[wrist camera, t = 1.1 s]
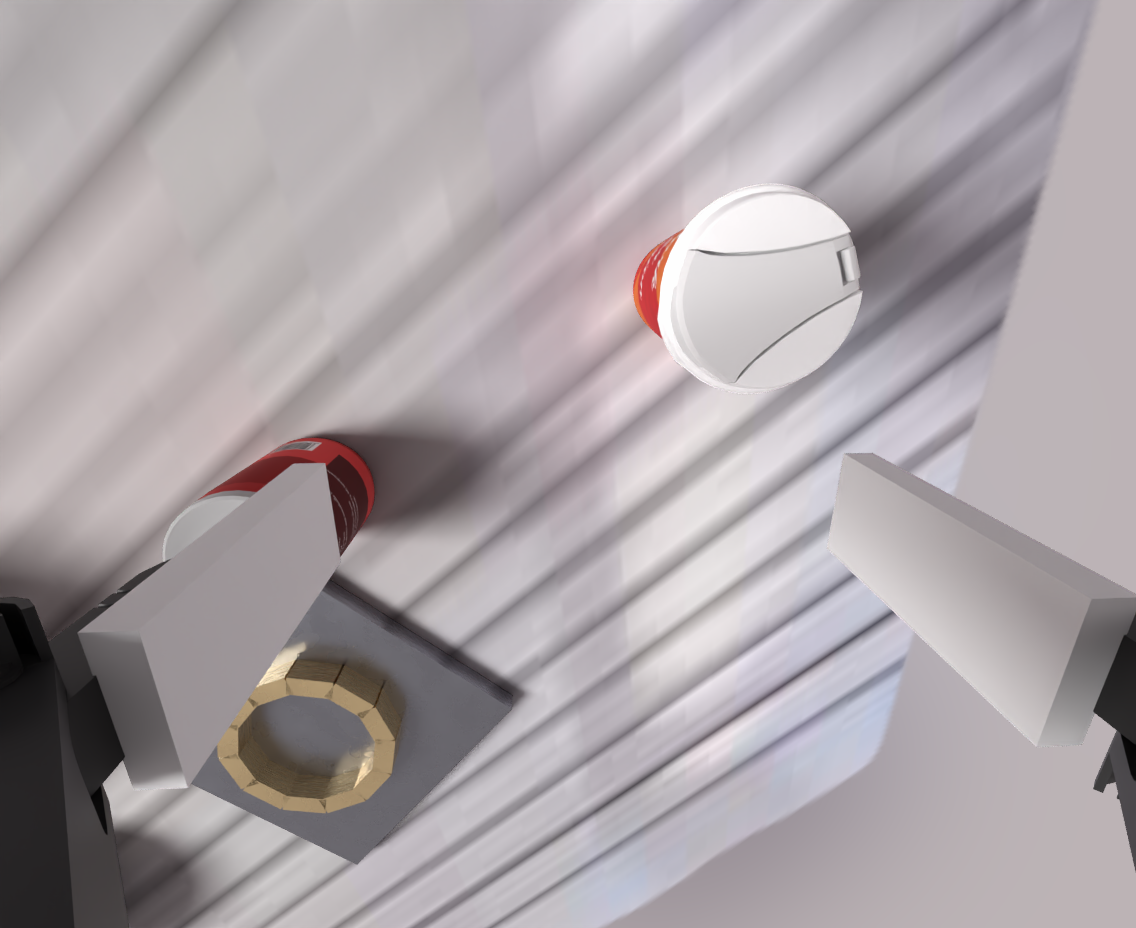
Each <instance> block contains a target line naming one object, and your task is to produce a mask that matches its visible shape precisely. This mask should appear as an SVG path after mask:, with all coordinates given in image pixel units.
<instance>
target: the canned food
mask: <svg viewBox="0 0 1136 928" xmlns="http://www.w3.org/2000/svg"><path fill="white" fill-rule="evenodd" d="M298 463H325V465H326V471H327V477H328V484H329V490H330V496H331V502H332V509H333V515H334V521H335V528H336V534H337V540H338V547H339V553H340V557H341V555H342V554H343V552H344V551H345V550H346V548H347V547H348V545H349V544H350V542H351V541H352V540H353V538H354V537H355V535H356V534H357V532H358V531H359V529H360V528H361V527H362V525H363V524H364V522H365V521H366V519H367V517H368V516H369V514H370V512H371V509H372V506H373V503H374V483H373V478H372V475H371V472H370V470H369V468H368V466H367V465H366V463H365V461H364V460H363V459H362V458H361V457H360V456H359V455H358V454H357V453H356V452H355V451H353V450H352V449H351V448H349V447H348V446H346V445H344V444H342V443H340V442H337V441H333V440H330V439H324V438H302V439H298V440H294V441H290V442H288V443H286V444H284V445H282V446H280V447H278V448H277V449H275V450H273V451H272V452H270V453H269V454H267V455H266V456H264V457H263V458H261V459H259V460H258V461H256V462H255V463H253V464H252V465H250V466H249V467H247V468H245V469H244V470H242V471H241V472H239V473H238V474H236V475H235V476H233V477H231V478H230V479H228V480H227V481H225V482H224V483H222V484H221V485H219V486H217V487H216V488H214V489H213V490H211V491H210V492H208V493H207V494H205V495H204V496H203V497H201V498H200V499H198V500H197V501H195V502H194V503H193V504H191V505H190V506H189V507H187V508H186V509H185V510H184V511H183V512H182V513H181V514H180V515H178V517H177V518H176V519H175V520H174V522H173V523H172V524H171V525H170V527H169V529H168V531H167V534H166V536H165V539H164V544H163V549H162V553H163V562H164V561H167V560H169V559H172V558H173V557H175V556H176V555H177V554H179V553H180V552H181V551H182V550H184V549H185V548H186V547H187V546H189V545H190V544H191V543H193V542H194V541H195V540H196V539H198V538H199V537H200V536H202V535H203V534H204V533H205V532H207V531H208V530H209V529H210V528H212V527H213V526H214V525H216V524H217V523H218V522H219V521H221V520H222V519H223V518H224V517H226V516H227V515H228V514H230V513H231V512H232V511H233V510H235V509H236V508H237V507H239V506H240V505H241V504H242V503H244V502H245V501H246V500H247V499H249V498H250V497H251V496H253V495H254V494H255V493H256V492H258V491H259V490H260V489H262V488H263V487H264V486H265V485H267V484H268V483H269V482H270V481H272V480H273V479H274V478H276V477H277V476H278V475H279V474H281V473H282V472H283V471H285V470H286V469H287V468H288V467H290V466H291V465H292V464H298Z"/></svg>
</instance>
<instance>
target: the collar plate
mask: <svg viewBox="0 0 1136 928" xmlns="http://www.w3.org/2000/svg"><path fill="white" fill-rule="evenodd" d="M511 709H512V695H511V694H510V693H508V692H506V691H505V690H503V689H502V688H500V687H498V686H497V685H495V684H494V683H492V682H491V681H489V680H487V679H486V678H484V677H483V676H481V675H479V674H478V673H476V672H475V671H473V670H472V669H470V668H468V667H467V666H465V665H464V664H462V663H460V662H459V661H457V660H456V659H454V658H453V657H451V656H449V655H448V654H446V653H445V652H443V651H441V650H440V649H438V648H437V647H435V646H434V645H432V644H430V643H429V642H427V641H426V640H424V639H422V638H421V637H419V636H418V635H416V634H415V633H413V632H411V631H410V630H408V629H407V628H405V627H403V626H402V625H400V624H399V623H397V622H396V621H394V620H392V619H391V618H389V617H388V616H386V615H384V614H383V613H381V612H380V611H378V610H377V609H375V608H373V607H372V606H370V605H369V604H367V603H365V602H364V601H362V600H361V599H359V598H358V597H356V596H354V595H353V594H351V593H350V592H348V591H346V590H345V589H343V588H342V587H340V586H339V585H337V584H335V583H334V582H332V581H331V580H328V582H327V583H326V585H325V586H324V588H323V589H322V591H321V592H320V594H319V595H318V597H317V598H316V599H315V601H314V602H313V604H312V605H311V607H310V608H309V610H308V611H307V613H306V614H305V616H304V617H303V619H302V620H301V622H300V623H299V625H298V626H297V628H296V629H295V630H294V632H293V633H292V635H291V636H290V638H289V639H288V641H287V642H286V644H285V645H284V647H283V648H282V650H281V651H280V653H279V654H278V656H277V657H276V659H275V660H274V661H273V663H272V664H271V666H270V667H269V669H268V670H267V672H266V673H265V675H264V676H263V678H262V679H261V681H260V682H259V684H258V685H257V687H256V688H255V690H254V691H253V692H252V694H251V695H250V697H249V698H248V700H247V701H246V703H245V704H244V706H243V707H242V709H241V710H240V712H239V713H238V715H237V716H236V718H235V719H234V721H233V722H232V724H231V725H230V726H229V728H228V729H227V731H226V732H225V734H224V735H223V737H222V738H221V740H220V741H219V743H218V744H217V746H216V747H215V749H214V750H213V752H212V753H211V755H210V756H209V757H208V759H207V760H206V762H205V763H204V765H203V766H202V768H201V769H200V771H199V772H198V774H197V775H196V777H195V778H194V780H193V781H192V783H191V784H193V785H195V786H197V787H199V788H201V789H203V790H205V791H207V792H209V793H211V794H213V795H215V796H217V797H219V798H221V799H223V800H225V801H228V802H230V803H232V804H234V805H236V806H238V807H240V808H242V809H244V810H246V811H248V812H250V813H252V814H254V815H256V816H258V817H260V818H262V819H264V820H267V821H269V822H271V823H273V824H275V825H277V826H279V827H281V828H283V829H285V830H287V831H289V832H291V833H293V834H295V835H297V836H299V837H301V838H303V839H306V840H308V841H310V842H312V843H314V844H316V845H318V846H320V847H322V848H324V849H326V850H328V851H330V852H332V853H334V854H336V855H338V856H340V857H342V858H345V859H347V860H349V861H351V862H353V863H355V864H358V863H359V862H360V861H361V860H362V859H363V858H364V857H365V856H366V855H367V854H368V853H369V852H370V851H371V850H372V849H373V848H374V847H375V846H376V845H377V844H378V843H379V842H380V841H381V840H382V839H383V838H384V837H385V836H386V835H387V834H388V833H389V832H390V831H391V830H392V829H393V828H394V827H395V826H396V825H397V824H398V823H399V822H400V821H401V820H402V819H403V818H404V817H405V816H406V815H407V814H408V813H409V812H410V811H411V810H412V809H413V808H414V807H415V806H416V805H417V804H418V803H419V802H420V801H421V800H422V799H423V798H424V797H425V796H426V795H427V794H428V793H429V792H430V791H431V790H432V789H433V788H434V787H435V786H436V785H437V784H438V783H439V782H440V781H441V780H442V779H443V778H444V777H445V776H446V775H447V774H448V773H449V772H450V771H451V770H452V769H453V768H454V766H455V765H456V764H457V763H458V762H459V761H460V760H461V759H462V758H463V757H464V756H465V755H466V754H467V753H468V752H469V751H470V750H471V749H472V748H473V747H474V746H475V745H476V744H477V743H478V742H479V741H480V740H481V739H482V738H483V737H484V736H485V735H486V734H487V733H488V732H489V731H490V730H491V729H492V728H493V727H494V726H495V725H496V724H497V723H498V722H499V721H500V720H501V719H502V718H503V717H504V716H505V715H506V714H507V713H508V712H509V711H510V710H511Z"/></svg>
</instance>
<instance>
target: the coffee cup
mask: <svg viewBox="0 0 1136 928" xmlns="http://www.w3.org/2000/svg"><path fill="white" fill-rule="evenodd" d="M848 232H851V230H850V229H849V228H848V226H847V225H846V223H845V222H844V220H843V219H842V218H841V217H840V216H839V215H838V214H837V213H836V212H835V211H833V210H832V209H831V208H830V207H829V206H828V205H827V204H826V203H825V202H824V201H822V200H821V199H819V198H818V197H816V196H815V195H813V194H812V193H809V192H807V191H805V190H802V189H800V188H798V187H793V186H789V185H784V184H759V185H752V186H747V187H744V188H741V189H738V190H735V191H732V192H730V193H728V194H726V195H724V196H722V197H720V198H718V199H716V200H715V201H714V202H712V203H711V204H710V205H708V206H707V207H706V208H704V209H703V210H702V211H701V212H700V213H699V214H698V215H697V216H696V217H695V218H694V219H693V220H692V221H691V222H690V223H689V224H688V225H687V227H686V228H685V229H683V230H681V231H679V232H678V233H676V234H675V235H673V236H671V237H670V238H668V239H666V240H665V241H663V242H662V243H660V244H659V245H658V246H656V247H655V248H654V249H652V250H651V251H650V252H649V253H648V254H647V256H646V257H645V258H644V259H643V261H642V262H641V264H640V266H639V268H638V270H637V272H636V275H635V279H634V285H633V296H634V302H635V306H636V308H637V311H638V313H639V315H640V316H641V318H642V319H643V321H644V322H645V323H646V324H647V325H648V326H649V327H650V328H651V329H652V330H653V331H654V332H655V333H656V334H657V335H658V336H660V337H661V338H662V339H663V340H664V343H665V345H666V348H667V349H668V351H669V353H670V354H671V356H672V357H673V359H674V361H675V362H677V363H678V364H679V365H681V366H682V367H683V368H685V369H686V370H687V371H689V372H690V373H691V374H693V375H694V376H695V377H696V378H698V379H699V380H700V381H702V382H704V383H706V384H708V385H710V386H711V387H714V388H717V389H720V390H722V391H725V392H731V393H737V394H757V393H764V392H770V391H773V390H776V389H780V388H783V387H785V386H787V385H789V384H791V383H793V382H796V381H798V380H799V379H801V378H803V377H805V376H807V375H809V374H810V373H812V372H813V371H815V370H816V369H818V368H819V367H820V366H821V365H822V364H824V363H825V362H826V361H827V360H828V359H829V358H830V357H831V356H832V355H833V354H834V353H835V352H836V350H837V349H838V348H839V347H840V346H841V344H842V343H843V341H844V340H845V338H846V337H847V335H848V334H849V332H850V330H851V328H852V326H853V324H854V322H855V319H856V316H857V313H858V310H859V307H860V304H861V298H862V293H863V291H861V290H859V289H860V287H859V278H860V277H861V274H860V269H859V264H858V259H857V254H856V249H855V246H854V245H853V241H852V239H851V237H850V235H849V233H848Z"/></svg>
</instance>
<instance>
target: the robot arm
mask: <svg viewBox="0 0 1136 928" xmlns="http://www.w3.org/2000/svg"><path fill="white" fill-rule="evenodd" d="M827 549H828V550H829V551H830V552H831V553H832V554H833V555H834V556H835V557H836V558H837V559H838V560H839V561H841V562H842V563H843V564H844V565H845V566H846V567H847V568H848V569H849V570H850V571H851V572H852V573H853V574H854V575H855V576H856V577H857V578H858V579H860V580H861V581H862V582H863V583H864V584H865V585H866V586H867V587H868V588H869V589H870V590H871V591H872V592H873V593H874V594H875V595H876V596H877V597H879V598H880V599H881V600H882V601H883V602H884V603H885V604H886V605H887V606H888V607H889V608H890V609H891V610H892V611H893V612H894V613H895V614H896V615H897V616H899V617H900V618H901V619H902V620H903V621H904V622H905V623H906V624H907V625H908V626H909V627H910V628H911V629H912V630H913V631H914V632H915V633H916V634H918V635H919V636H920V637H921V638H922V639H923V640H924V641H925V642H926V643H927V644H928V645H929V646H930V647H931V648H932V649H933V650H934V651H935V652H937V653H938V654H939V655H940V656H941V657H942V658H943V659H944V660H945V661H946V662H947V663H948V664H949V665H950V666H951V667H952V668H953V669H955V670H956V671H957V672H958V673H959V674H960V675H961V676H962V677H963V678H964V679H965V680H966V681H967V682H968V683H969V684H970V685H971V686H972V687H973V688H975V689H976V690H977V691H978V692H979V693H980V694H981V695H982V696H983V697H984V698H985V699H986V700H987V701H988V702H989V703H990V704H991V705H992V706H994V707H995V708H996V709H997V710H998V711H999V712H1000V713H1001V714H1002V715H1003V716H1004V717H1005V718H1006V719H1007V720H1008V721H1009V722H1010V723H1011V724H1013V725H1014V726H1015V727H1016V728H1017V729H1018V730H1019V731H1020V732H1021V733H1022V734H1023V735H1024V736H1025V737H1026V738H1028V740H1029V741H1030V742H1031V743H1033V744H1034V745H1035V746H1036V747H1049V746H1070V745H1082V743H1083V741H1084V738H1085V736H1086V733H1087V731H1088V728H1089V726H1090V724H1091V721H1092V719H1093V716H1094V714H1095V713H1096V714H1097V715H1098V716H1099V717H1101V718H1102V719H1103V720H1104V721H1106V722H1107V723H1109V724H1110V725H1111V726H1112V727H1113V728H1115V729H1116V730H1117V731H1116V733H1115V736H1114V738H1113V740H1112V743H1111V745H1110V747H1109V750H1108V752H1107V754H1106V757H1105V759H1104V761H1103V764H1102V766H1101V768H1100V770H1099V773H1098V775H1097V777H1096V780H1095V784H1094V788H1093V789H1095V790H1097V791H1100V792H1102V793H1103V791H1104V789H1105V787H1106V784H1110V783H1114V782H1116V785H1117V790H1118V795H1117V799H1119V800H1120V803H1121V808H1122V812H1123V817H1124V821H1125V826H1126V830H1127V835H1128V839H1129V844H1130V848H1131V853H1132V857H1133V862H1134V866H1135V870H1136V594H1135V593H1133V592H1131V591H1129V590H1128V589H1126V588H1124V587H1122V586H1120V585H1118V584H1116V583H1115V582H1113V581H1111V580H1109V579H1107V578H1105V577H1103V576H1101V575H1100V574H1098V573H1096V572H1094V571H1092V570H1090V569H1088V568H1086V567H1085V566H1083V565H1081V564H1079V563H1077V562H1075V561H1073V560H1071V559H1069V558H1068V557H1066V556H1064V555H1062V554H1060V553H1058V552H1057V551H1055V550H1053V549H1051V548H1049V547H1047V546H1045V545H1043V544H1042V543H1040V542H1038V541H1036V540H1034V539H1032V538H1030V537H1029V536H1027V535H1025V534H1023V533H1021V532H1019V531H1017V530H1015V529H1014V528H1011V527H1010V526H1008V525H1006V524H1004V523H1002V522H1000V521H999V520H997V519H995V518H993V517H991V516H989V515H987V514H986V513H984V512H982V511H980V510H978V509H976V508H974V507H972V506H971V505H968V504H967V503H965V502H963V501H961V500H959V499H957V498H956V497H954V496H952V495H950V494H948V493H946V492H944V491H943V490H941V489H939V488H937V487H935V486H933V485H931V484H929V483H928V482H926V481H924V480H922V479H920V478H918V477H916V476H914V475H913V474H911V473H909V472H907V471H905V470H903V469H901V468H900V467H898V466H896V465H894V464H892V463H890V462H888V461H886V460H885V459H883V458H881V457H879V456H877V455H875V454H873V453H846V454H844V455H843V461H842V466H841V472H840V478H839V483H838V489H837V494H836V500H835V506H834V511H833V517H832V523H831V528H830V534H829V539H828V545H827ZM340 563H341V559H340V553H339V547H338V540H337V534H336V528H335V521H334V515H333V509H332V502H331V496H330V490H329V484H328V477H327V471H326V465H325V463H298V464H292V465H291V466H290V467H288V468H287V469H286V470H285V471H283V472H282V473H281V474H279V475H278V476H277V477H276V478H274V479H273V480H272V481H270V482H269V483H268V484H267V485H265V486H264V487H263V488H262V489H260V490H259V491H258V492H256V493H255V494H254V495H253V496H251V497H250V498H249V499H247V500H246V501H245V502H244V503H242V504H241V505H240V506H239V507H237V508H236V509H235V510H233V511H232V512H231V513H230V514H228V515H227V516H226V517H224V518H223V519H222V520H221V521H219V522H218V523H217V524H216V525H214V526H213V527H212V528H210V529H209V530H208V531H207V532H205V533H204V534H203V535H202V536H200V537H199V538H198V539H196V540H195V541H194V542H193V543H191V544H190V545H189V546H187V547H186V548H185V549H184V550H182V551H181V552H180V553H179V554H177V555H176V556H175V557H173V558H172V559H169V560H167V561H164V562H162V563H160V564H158V565H156V566H154V567H152V568H150V569H148V570H146V571H144V572H142V573H140V574H138V575H137V576H136V577H134V578H133V579H132V580H130V581H129V582H128V583H126V584H125V585H124V586H122V587H121V588H120V589H118V590H117V594H112V595H110V596H109V597H108V598H106V599H105V600H104V601H102V602H101V603H100V604H99V607H98V608H93V609H92V610H91V611H89V612H88V613H87V614H85V615H84V616H83V617H81V618H80V619H79V620H77V621H76V622H75V623H73V624H72V625H71V626H69V627H68V628H67V629H65V630H64V631H63V632H61V633H60V634H59V635H58V636H56V637H55V638H54V639H52V640H51V641H50V642H48V641H47V638H46V636H45V633H44V630H43V628H42V625H41V623H40V620H39V617H38V615H37V612H36V610H35V607H34V605H33V604H32V603H31V602H30V600H29V599H23V598H17V597H9V598H0V928H129V923H128V917H127V910H126V904H125V898H124V892H123V885H122V879H121V873H120V867H119V860H118V854H117V848H116V842H115V835H114V829H113V823H112V816H111V810H110V804H109V800H108V797H107V795H106V792H105V790H104V787H103V784H102V783H103V782H104V781H105V780H106V779H107V778H108V776H109V775H110V774H111V773H112V772H113V771H114V769H115V768H116V767H117V766H118V765H119V763H120V762H121V761H122V760H123V761H124V764H125V767H126V770H127V772H128V775H129V778H130V781H131V784H132V786H133V789H134V790H153V789H174V788H188V787H189V786H190V784H191V783H192V781H193V780H194V778H195V777H196V775H197V774H198V772H199V771H200V769H201V768H202V766H203V765H204V763H205V762H206V760H207V759H208V757H209V756H210V755H211V753H212V752H213V750H214V749H215V747H216V746H217V744H218V743H219V741H220V740H221V738H222V737H223V735H224V734H225V732H226V731H227V729H228V728H229V726H230V725H231V724H232V722H233V721H234V719H235V718H236V716H237V715H238V713H239V712H240V710H241V709H242V707H243V706H244V704H245V703H246V701H247V700H248V698H249V697H250V695H251V694H252V692H253V691H254V690H255V688H256V687H257V685H258V684H259V682H260V681H261V679H262V678H263V676H264V675H265V673H266V672H267V670H268V669H269V667H270V666H271V664H272V663H273V661H274V660H275V659H276V657H277V656H278V654H279V653H280V651H281V650H282V648H283V647H284V645H285V644H286V642H287V641H288V639H289V638H290V636H291V635H292V633H293V632H294V630H295V629H296V628H297V626H298V625H299V623H300V622H301V620H302V619H303V617H304V616H305V614H306V613H307V611H308V610H309V608H310V607H311V605H312V604H313V602H314V601H315V599H316V598H317V597H318V595H319V594H320V592H321V591H322V589H323V588H324V586H325V585H326V583H327V582H328V580H329V579H330V577H331V576H332V574H333V573H334V571H335V570H336V568H337V567H338V566H339V564H340Z"/></svg>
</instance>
